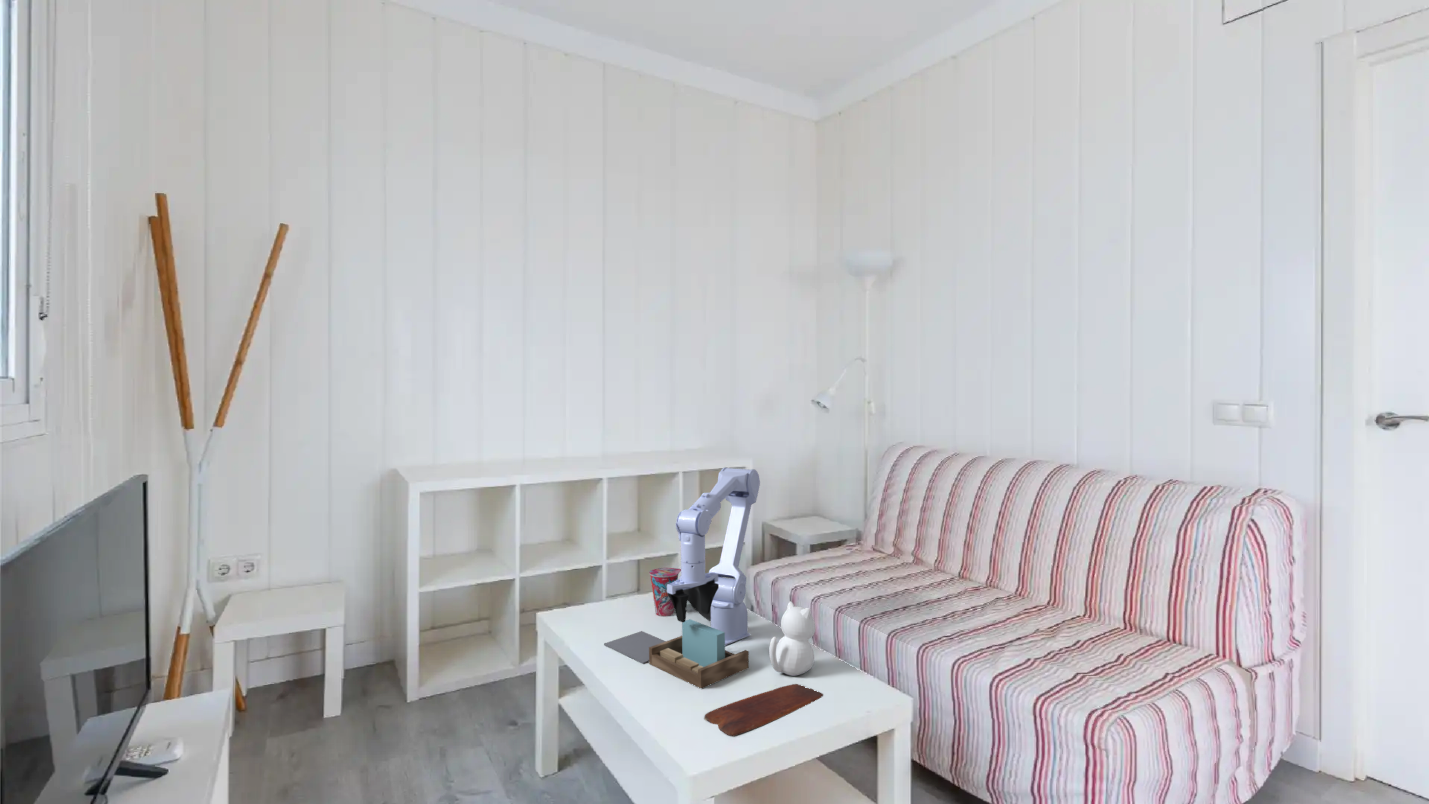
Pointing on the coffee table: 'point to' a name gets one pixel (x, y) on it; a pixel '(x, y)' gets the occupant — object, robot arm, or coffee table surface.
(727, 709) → the wooden tablet
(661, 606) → the cup
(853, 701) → the coffee table surface
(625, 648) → the mat
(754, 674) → the coffee table surface
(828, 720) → the coffee table surface
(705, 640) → the teal rectangular block
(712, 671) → the rack
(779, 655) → the cat figurine
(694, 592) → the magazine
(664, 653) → the offcuts
